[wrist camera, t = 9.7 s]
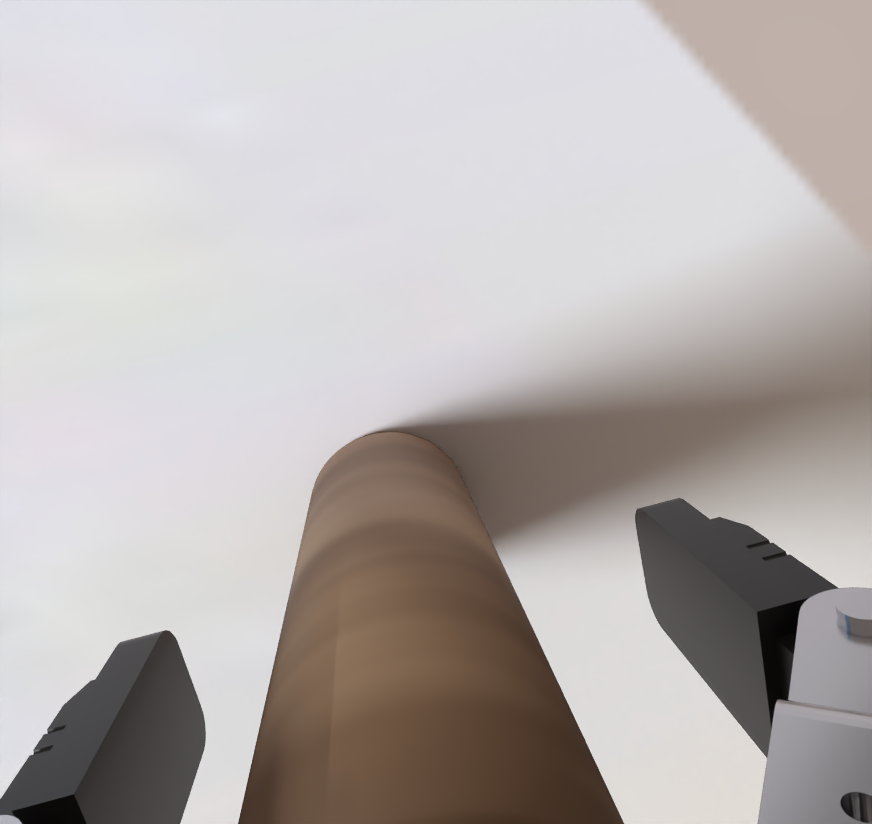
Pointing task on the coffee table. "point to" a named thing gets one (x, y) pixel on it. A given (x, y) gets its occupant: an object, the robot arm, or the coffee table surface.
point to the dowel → (411, 666)
